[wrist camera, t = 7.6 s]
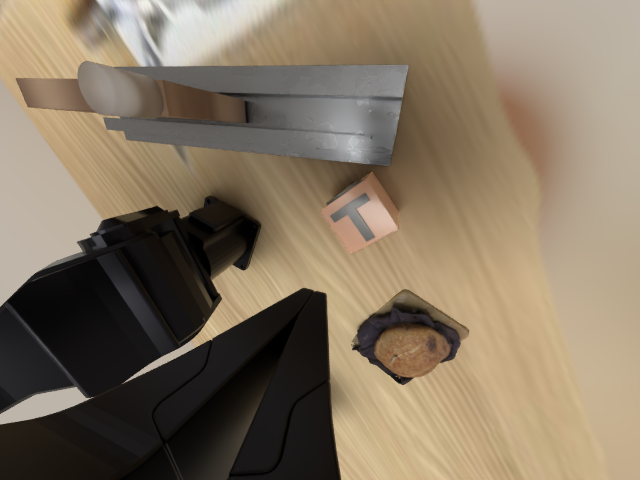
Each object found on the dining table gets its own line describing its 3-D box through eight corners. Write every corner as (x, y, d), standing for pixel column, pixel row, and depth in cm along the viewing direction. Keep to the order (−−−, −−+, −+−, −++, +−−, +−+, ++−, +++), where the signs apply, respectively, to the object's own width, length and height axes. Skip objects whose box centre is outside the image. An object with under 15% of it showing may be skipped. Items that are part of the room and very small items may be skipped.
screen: (244, 96, 17) (107, 60, 9) (246, 125, 18) (122, 116, 10) (128, 93, 20) (-52, 63, 12) (135, 118, 21) (-30, 106, 13)
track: (408, 68, 15) (409, 57, 13) (390, 164, 17) (388, 168, 15) (118, 69, 21) (86, 62, 19) (136, 139, 24) (110, 139, 22)
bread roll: (401, 280, 22) (402, 304, 18) (476, 331, 21) (491, 365, 18) (343, 338, 27) (335, 364, 24) (403, 379, 26) (403, 413, 23)
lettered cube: (398, 212, 19) (398, 229, 15) (358, 234, 21) (350, 255, 17) (371, 169, 18) (364, 177, 14) (332, 197, 20) (317, 209, 16)
